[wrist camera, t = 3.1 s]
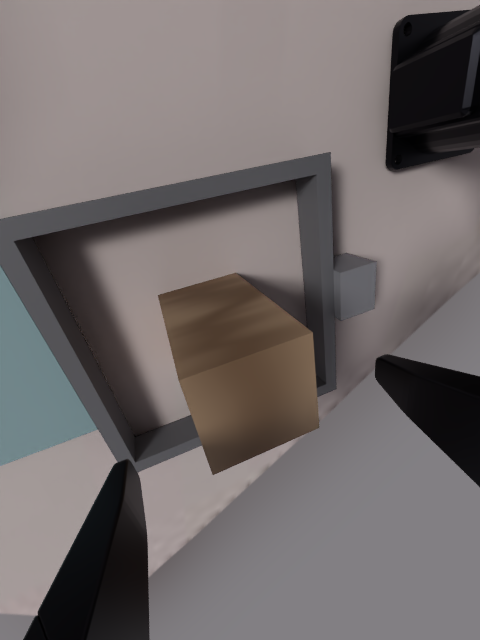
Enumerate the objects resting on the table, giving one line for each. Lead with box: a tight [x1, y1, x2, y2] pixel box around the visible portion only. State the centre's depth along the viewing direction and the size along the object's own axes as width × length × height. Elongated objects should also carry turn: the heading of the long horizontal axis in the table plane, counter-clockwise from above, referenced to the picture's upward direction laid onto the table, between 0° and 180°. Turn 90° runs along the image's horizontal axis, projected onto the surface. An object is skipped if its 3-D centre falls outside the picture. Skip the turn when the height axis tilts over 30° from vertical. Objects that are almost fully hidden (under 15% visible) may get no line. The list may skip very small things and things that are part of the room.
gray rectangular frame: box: [0, 152, 377, 472], centre depth 16 cm, size 17×15×3 cm
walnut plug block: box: [158, 273, 319, 475], centre depth 13 cm, size 4×4×8 cm
